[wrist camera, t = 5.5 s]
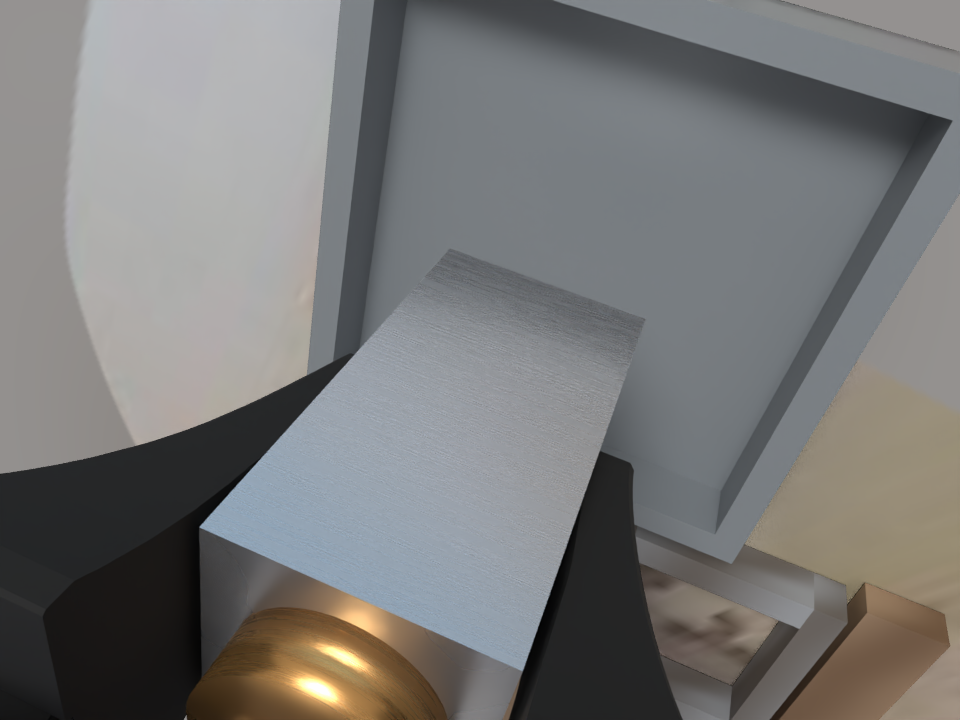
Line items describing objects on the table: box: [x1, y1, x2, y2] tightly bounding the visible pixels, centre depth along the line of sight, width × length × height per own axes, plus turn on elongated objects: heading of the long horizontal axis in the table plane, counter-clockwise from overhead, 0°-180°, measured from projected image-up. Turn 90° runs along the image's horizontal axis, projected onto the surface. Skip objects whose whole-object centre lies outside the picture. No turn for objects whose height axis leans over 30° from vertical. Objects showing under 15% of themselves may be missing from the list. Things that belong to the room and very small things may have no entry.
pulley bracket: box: [502, 525, 950, 720], centre depth 27 cm, size 13×14×4 cm
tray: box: [307, 0, 960, 564], centre depth 20 cm, size 14×14×2 cm
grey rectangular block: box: [186, 249, 646, 720], centre depth 13 cm, size 4×4×9 cm
